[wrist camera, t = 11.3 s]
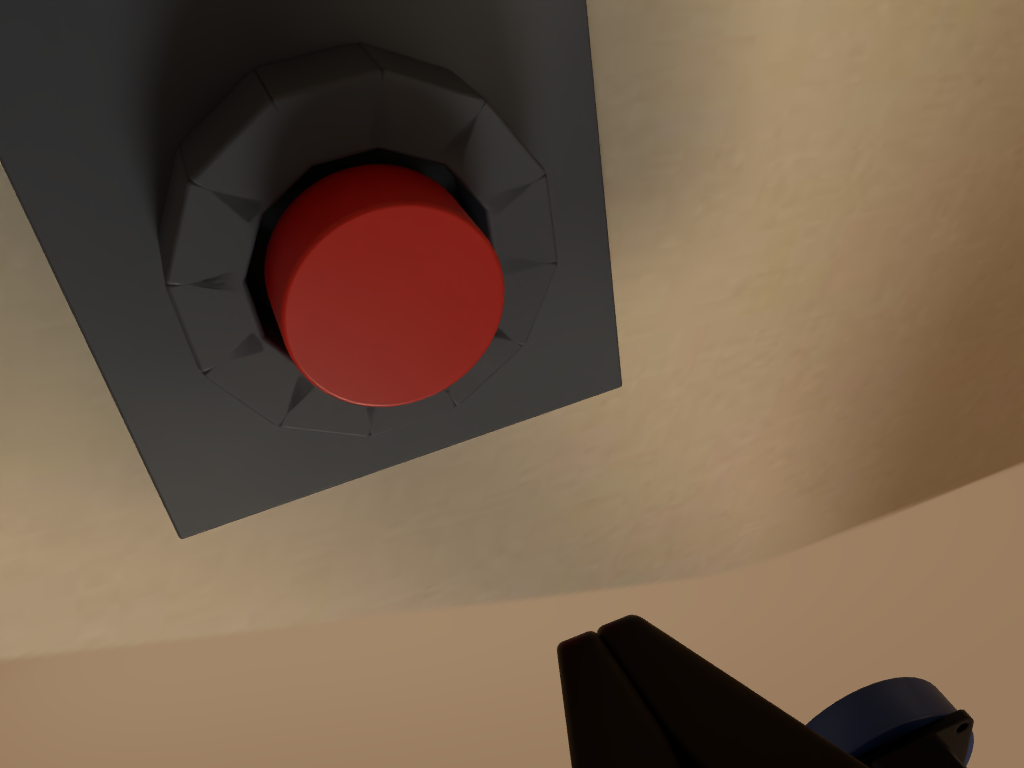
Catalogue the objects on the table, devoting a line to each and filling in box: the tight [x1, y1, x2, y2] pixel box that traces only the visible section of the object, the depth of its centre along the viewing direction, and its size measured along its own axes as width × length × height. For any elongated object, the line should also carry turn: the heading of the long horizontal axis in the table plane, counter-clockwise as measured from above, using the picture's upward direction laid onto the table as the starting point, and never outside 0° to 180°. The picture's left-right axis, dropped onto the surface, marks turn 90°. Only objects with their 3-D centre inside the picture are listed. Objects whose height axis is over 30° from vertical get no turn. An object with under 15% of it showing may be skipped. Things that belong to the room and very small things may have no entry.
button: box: [264, 164, 505, 407], centre depth 16 cm, size 4×4×2 cm
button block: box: [0, 0, 622, 539], centre depth 18 cm, size 11×10×4 cm
